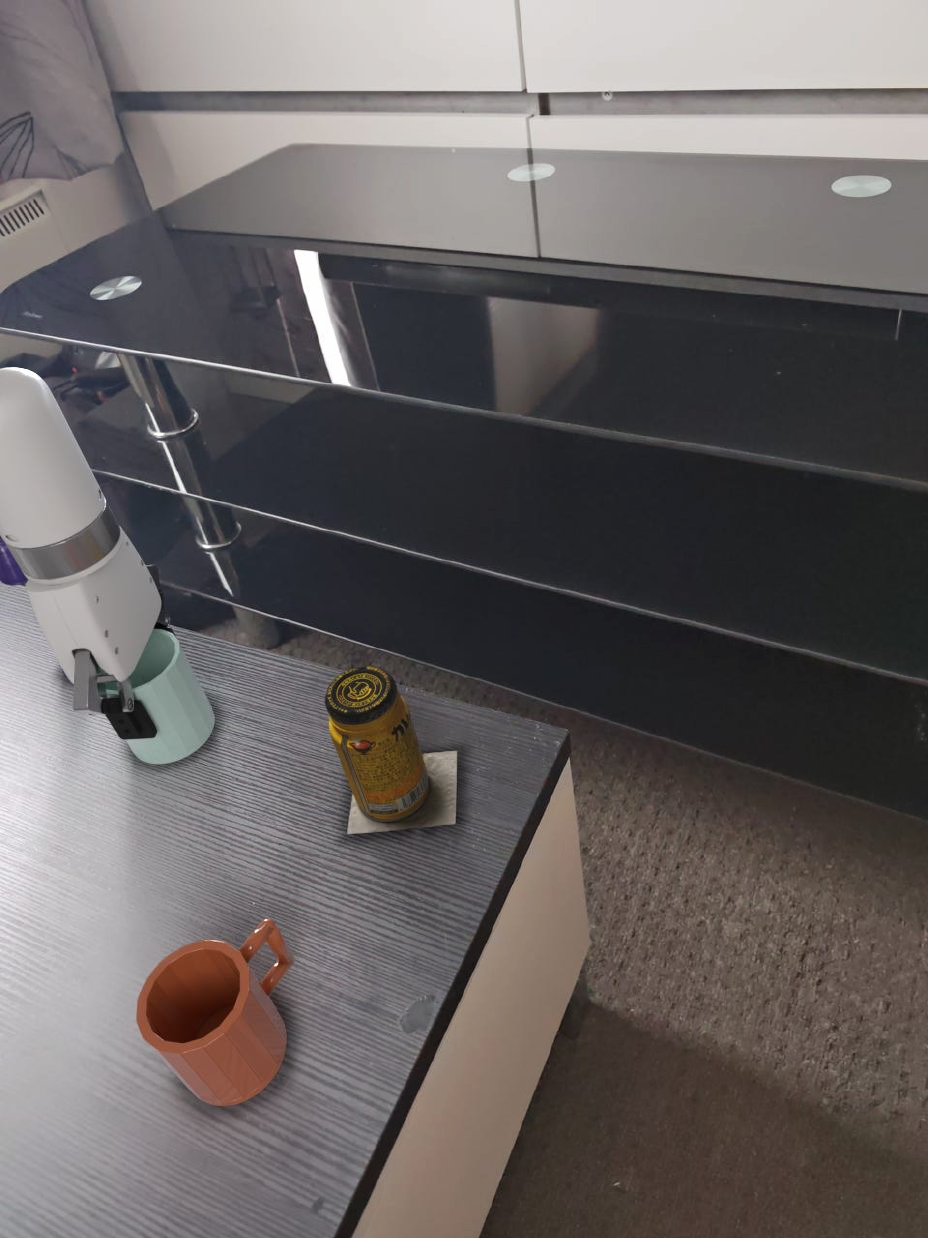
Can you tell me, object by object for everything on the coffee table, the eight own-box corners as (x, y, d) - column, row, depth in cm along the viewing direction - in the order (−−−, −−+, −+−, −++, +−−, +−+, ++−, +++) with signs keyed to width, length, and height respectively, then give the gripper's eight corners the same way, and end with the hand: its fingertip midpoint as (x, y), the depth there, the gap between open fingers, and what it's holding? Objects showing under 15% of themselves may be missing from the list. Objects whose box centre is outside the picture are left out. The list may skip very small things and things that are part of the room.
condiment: (356, 761, 76) (319, 659, 68) (457, 752, 75) (431, 647, 67) (347, 836, 71) (305, 735, 63) (456, 827, 70) (427, 723, 62)
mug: (237, 1128, 56) (191, 1076, 51) (163, 1070, 59) (112, 1015, 54) (336, 991, 61) (305, 931, 56) (264, 945, 65) (227, 884, 59)
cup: (119, 767, 80) (74, 697, 74) (147, 701, 85) (107, 631, 79) (201, 762, 78) (163, 691, 73) (224, 696, 84) (190, 625, 78)
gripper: (63, 475, 74) (146, 632, 86) (-36, 621, 62) (78, 782, 73) (150, 466, 73) (222, 626, 85) (68, 613, 60) (166, 777, 72)
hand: (155, 697), depth 79 cm, fingers closed on cup, 7 cm apart
